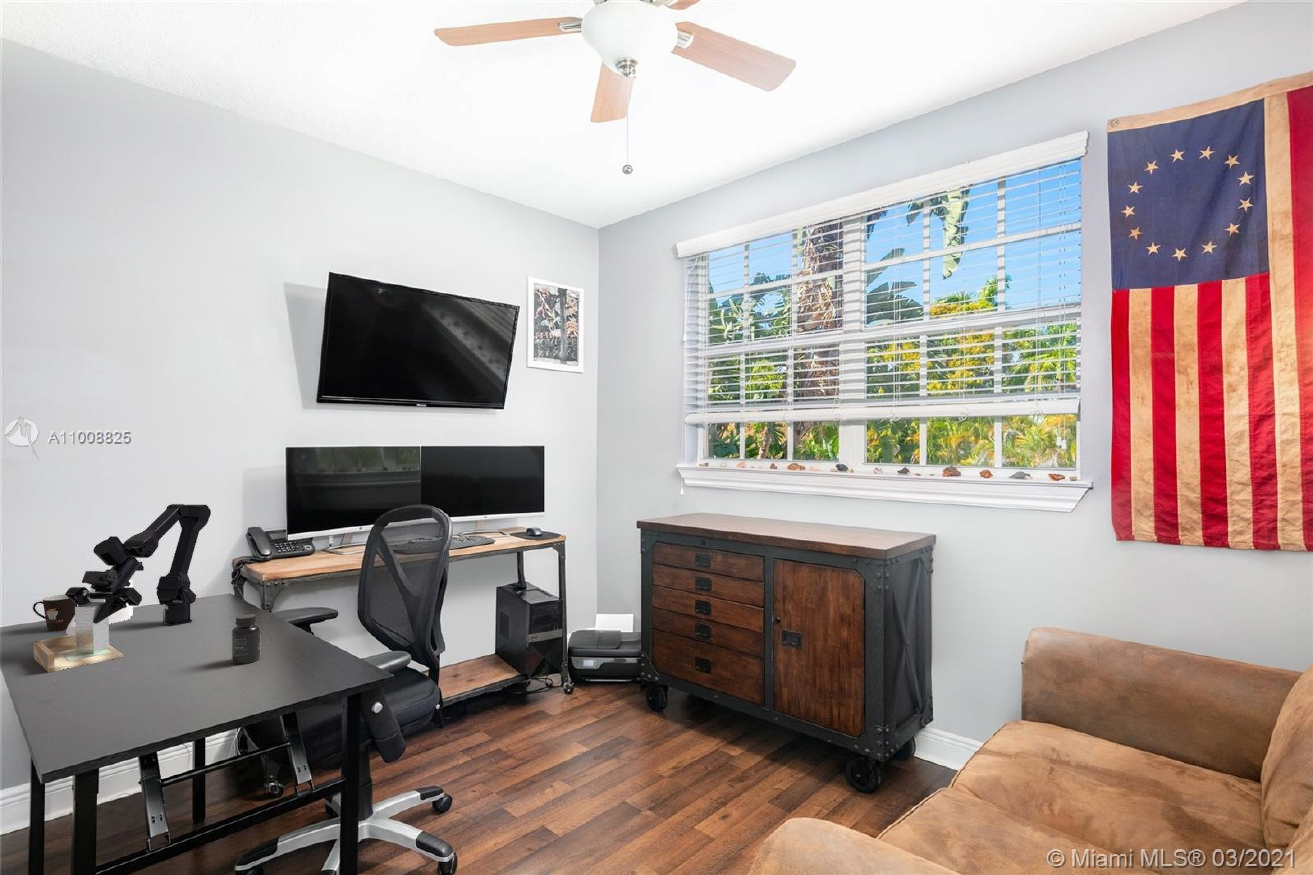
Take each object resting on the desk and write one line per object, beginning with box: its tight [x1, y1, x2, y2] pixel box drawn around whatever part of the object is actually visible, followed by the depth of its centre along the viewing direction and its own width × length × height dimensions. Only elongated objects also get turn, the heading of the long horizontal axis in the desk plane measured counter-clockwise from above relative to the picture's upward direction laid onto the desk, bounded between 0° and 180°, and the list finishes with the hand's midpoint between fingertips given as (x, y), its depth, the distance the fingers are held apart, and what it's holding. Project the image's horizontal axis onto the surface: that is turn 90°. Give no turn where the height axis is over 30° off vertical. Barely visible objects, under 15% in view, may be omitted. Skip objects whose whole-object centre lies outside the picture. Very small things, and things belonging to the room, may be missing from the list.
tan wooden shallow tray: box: [33, 634, 125, 674], centre depth 184 cm, size 16×19×4 cm
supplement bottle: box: [230, 613, 262, 665], centre depth 182 cm, size 7×7×12 cm
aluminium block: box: [75, 602, 110, 654], centre depth 188 cm, size 5×5×13 cm
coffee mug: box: [32, 593, 78, 633], centre depth 213 cm, size 12×9×10 cm
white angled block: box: [89, 579, 134, 625], centre depth 224 cm, size 11×11×12 cm
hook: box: [65, 616, 76, 636], centre depth 201 cm, size 8×12×7 cm
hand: (85, 622), depth 185 cm, fingers closed on aluminium block, 5 cm apart
